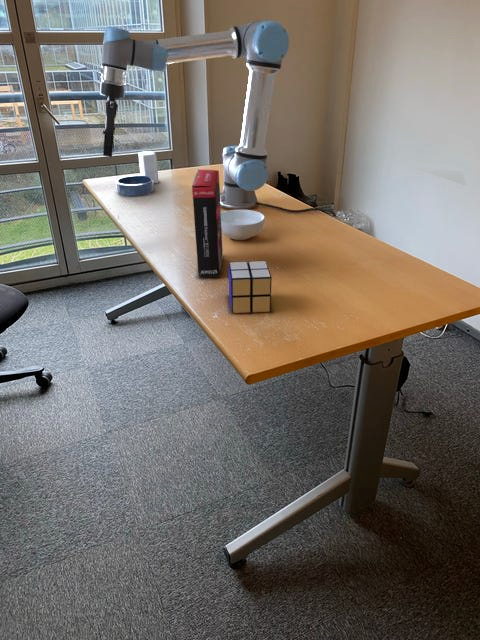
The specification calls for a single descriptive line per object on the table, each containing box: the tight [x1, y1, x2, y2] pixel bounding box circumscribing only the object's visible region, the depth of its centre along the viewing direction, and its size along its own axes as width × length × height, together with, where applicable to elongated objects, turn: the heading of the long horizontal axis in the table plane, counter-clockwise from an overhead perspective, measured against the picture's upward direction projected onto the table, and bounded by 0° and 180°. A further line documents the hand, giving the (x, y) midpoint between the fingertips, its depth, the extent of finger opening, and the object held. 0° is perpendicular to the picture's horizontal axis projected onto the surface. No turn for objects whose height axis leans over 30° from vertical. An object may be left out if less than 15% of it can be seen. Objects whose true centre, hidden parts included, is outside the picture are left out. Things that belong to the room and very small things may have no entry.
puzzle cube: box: [228, 260, 273, 315], centre depth 130 cm, size 10×10×10 cm
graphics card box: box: [191, 169, 224, 279], centre depth 146 cm, size 17×7×27 cm, turn 179°
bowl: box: [115, 174, 155, 197], centre depth 220 cm, size 16×16×5 cm
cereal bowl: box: [221, 209, 266, 241], centre depth 173 cm, size 17×17×7 cm
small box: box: [137, 150, 160, 184], centre depth 232 cm, size 8×6×13 cm
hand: (107, 153), depth 167 cm, fingers open, 13 cm apart
